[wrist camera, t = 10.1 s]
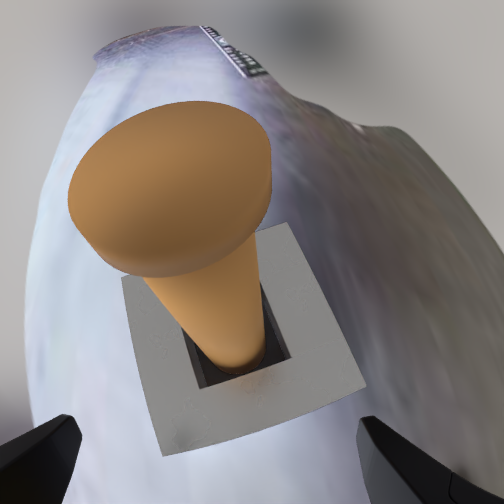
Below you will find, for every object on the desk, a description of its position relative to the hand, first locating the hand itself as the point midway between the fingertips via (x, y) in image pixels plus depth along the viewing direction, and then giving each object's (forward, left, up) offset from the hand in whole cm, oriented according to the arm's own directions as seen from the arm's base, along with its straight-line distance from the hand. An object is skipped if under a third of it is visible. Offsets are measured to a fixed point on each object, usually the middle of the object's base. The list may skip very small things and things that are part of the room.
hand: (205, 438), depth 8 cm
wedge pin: (+2, +5, -10) cm, 11 cm away
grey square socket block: (+2, +5, -10) cm, 11 cm away
